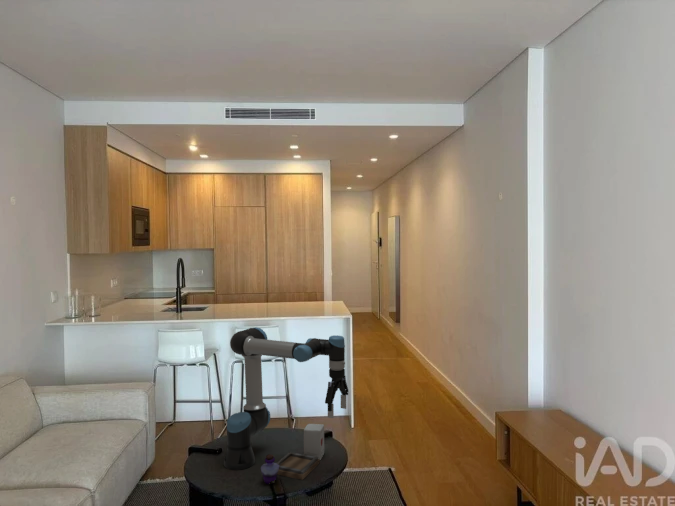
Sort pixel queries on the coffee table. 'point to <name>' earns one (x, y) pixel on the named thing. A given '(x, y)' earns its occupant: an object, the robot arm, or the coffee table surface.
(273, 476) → the potion bottle
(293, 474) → the jig plate
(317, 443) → the supplement box
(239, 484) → the coffee table surface
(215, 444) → the coffee table surface
